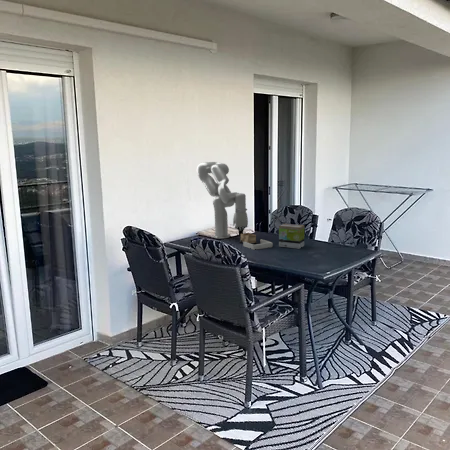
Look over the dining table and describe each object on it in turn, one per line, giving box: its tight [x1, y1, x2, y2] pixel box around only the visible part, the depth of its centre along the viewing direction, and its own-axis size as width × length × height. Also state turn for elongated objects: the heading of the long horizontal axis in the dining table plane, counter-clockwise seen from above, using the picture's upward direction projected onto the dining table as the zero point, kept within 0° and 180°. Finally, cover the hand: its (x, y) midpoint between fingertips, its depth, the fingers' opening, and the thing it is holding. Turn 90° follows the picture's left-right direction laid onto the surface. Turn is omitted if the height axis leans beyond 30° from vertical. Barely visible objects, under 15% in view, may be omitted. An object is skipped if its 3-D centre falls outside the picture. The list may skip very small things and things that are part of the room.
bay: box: [242, 239, 274, 251], centre depth 319 cm, size 14×15×3 cm
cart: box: [239, 232, 258, 245], centre depth 329 cm, size 10×8×6 cm
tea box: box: [278, 223, 305, 250], centre depth 316 cm, size 15×10×15 cm, turn 62°
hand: (241, 235), depth 338 cm, fingers closed
